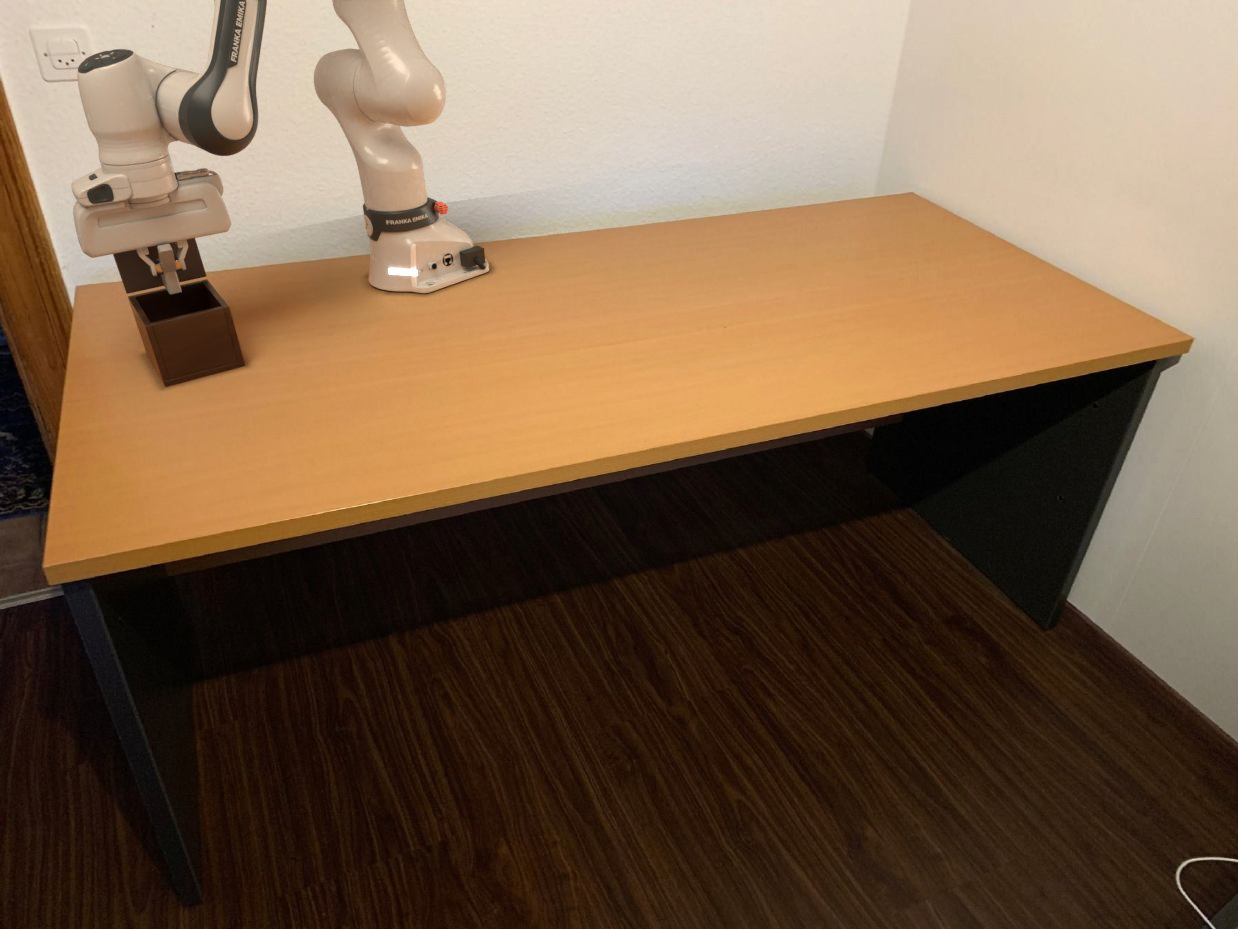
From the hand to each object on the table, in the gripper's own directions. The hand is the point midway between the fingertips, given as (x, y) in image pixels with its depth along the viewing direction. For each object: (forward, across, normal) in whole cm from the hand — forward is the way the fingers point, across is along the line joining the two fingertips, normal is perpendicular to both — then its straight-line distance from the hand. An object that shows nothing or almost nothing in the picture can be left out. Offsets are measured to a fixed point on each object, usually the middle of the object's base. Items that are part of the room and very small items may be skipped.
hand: (169, 272), depth 136 cm
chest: (+15, 0, 0) cm, 15 cm away
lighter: (+3, 0, 0) cm, 3 cm away
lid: (-3, 0, -8) cm, 8 cm away
